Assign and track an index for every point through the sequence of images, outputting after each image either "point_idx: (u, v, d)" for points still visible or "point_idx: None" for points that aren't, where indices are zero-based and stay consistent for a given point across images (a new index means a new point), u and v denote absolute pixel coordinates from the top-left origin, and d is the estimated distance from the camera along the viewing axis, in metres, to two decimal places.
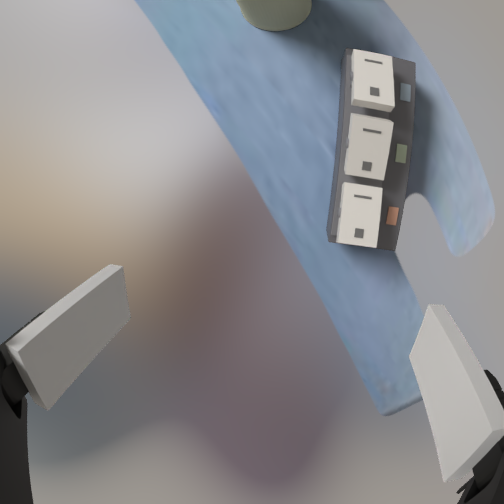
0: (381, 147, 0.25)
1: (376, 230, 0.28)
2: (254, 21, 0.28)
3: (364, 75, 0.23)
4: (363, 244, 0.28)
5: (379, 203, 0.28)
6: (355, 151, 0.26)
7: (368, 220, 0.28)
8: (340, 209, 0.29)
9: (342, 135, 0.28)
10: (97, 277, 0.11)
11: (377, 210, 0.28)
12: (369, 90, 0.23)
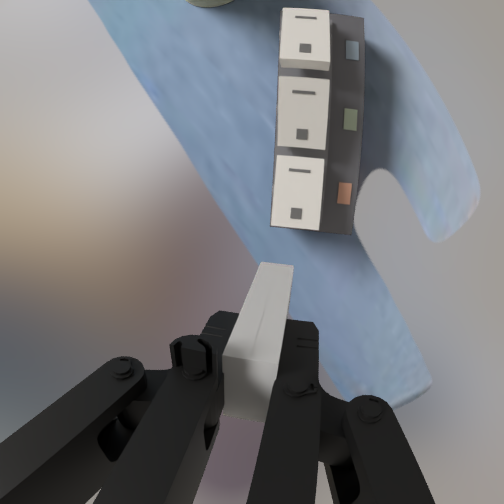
0: (317, 110, 0.22)
1: (317, 209, 0.24)
2: None
3: (293, 32, 0.19)
4: (302, 226, 0.25)
5: (320, 177, 0.24)
6: (286, 118, 0.22)
7: (307, 197, 0.24)
8: (273, 186, 0.25)
9: None
10: (263, 275, 0.12)
11: (318, 185, 0.24)
12: (299, 47, 0.19)
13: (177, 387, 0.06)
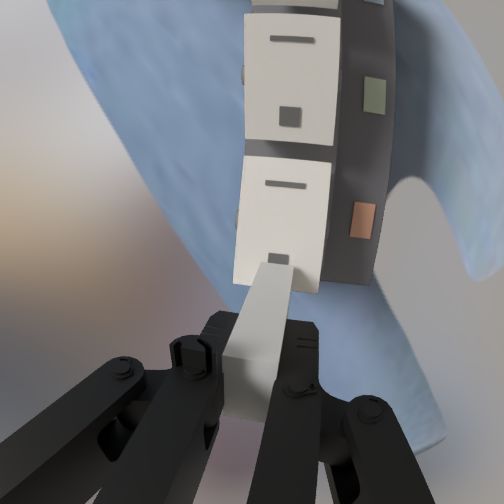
0: (318, 72, 0.11)
1: (317, 256, 0.13)
2: None
3: None
4: None
5: (324, 197, 0.13)
6: (259, 87, 0.12)
7: (298, 235, 0.13)
8: (238, 213, 0.14)
9: None
10: (263, 275, 0.12)
11: (319, 212, 0.13)
12: None
13: (177, 387, 0.06)
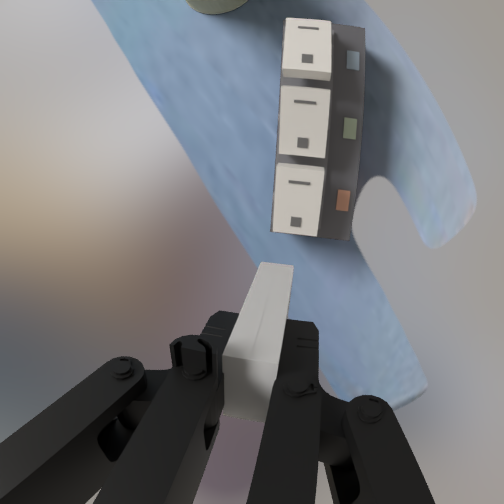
0: (318, 120, 0.22)
1: (316, 218, 0.26)
2: (195, 6, 0.25)
3: (296, 43, 0.20)
4: (301, 233, 0.27)
5: (320, 189, 0.24)
6: (287, 126, 0.23)
7: (306, 208, 0.25)
8: (274, 195, 0.26)
9: (279, 112, 0.26)
10: (263, 275, 0.12)
11: (317, 197, 0.25)
12: (301, 58, 0.20)
13: (177, 387, 0.06)
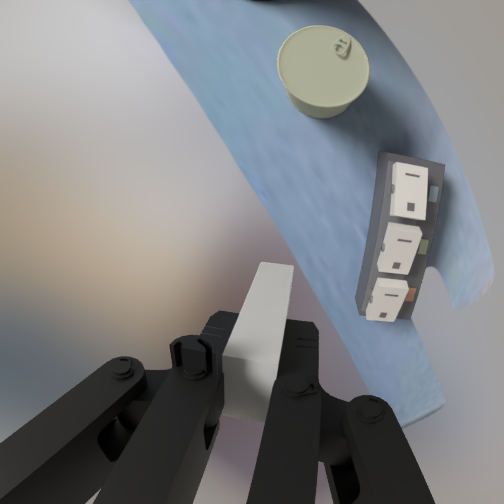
0: (409, 252, 0.32)
1: (396, 313, 0.35)
2: (301, 109, 0.34)
3: (404, 190, 0.29)
4: (384, 320, 0.36)
5: (403, 298, 0.33)
6: (389, 255, 0.32)
7: (392, 308, 0.35)
8: (372, 300, 0.35)
9: (378, 234, 0.35)
10: (263, 275, 0.12)
11: (400, 302, 0.34)
12: (407, 206, 0.30)
13: (177, 387, 0.06)
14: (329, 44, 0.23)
